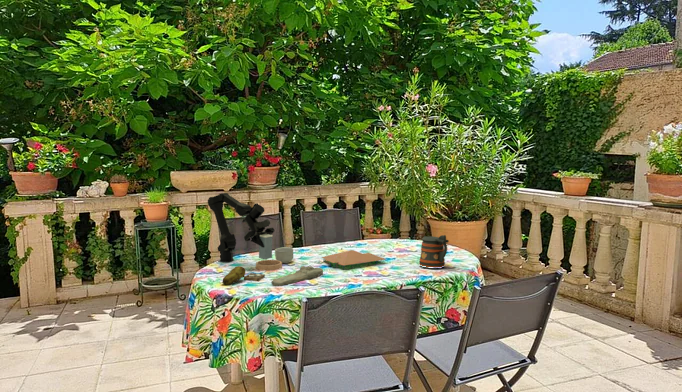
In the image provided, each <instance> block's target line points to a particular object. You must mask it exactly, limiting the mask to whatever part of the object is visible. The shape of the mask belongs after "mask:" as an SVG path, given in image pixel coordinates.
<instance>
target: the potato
mask: <svg viewBox="0 0 682 392" xmlns="http://www.w3.org/2000/svg"><path fill="white" fill-rule="evenodd" d="M246 271H247V270H246V269H245V268H244V267H243V266H242V265H238V266H235V267H234V268H232V269H231V270H230V271H229V272H228V273H227V274H226V275H225V276H224V277H223V278H222V284H224V285H225V286H229V285H231V284H235V283H237V282H238V281H239V280H241V279H242V278H244V277H245V276H246Z"/></svg>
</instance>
